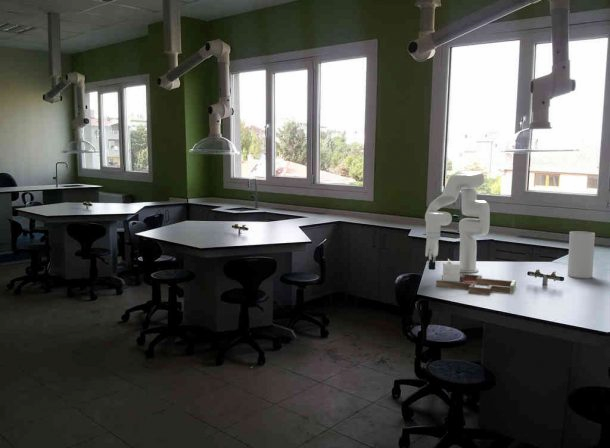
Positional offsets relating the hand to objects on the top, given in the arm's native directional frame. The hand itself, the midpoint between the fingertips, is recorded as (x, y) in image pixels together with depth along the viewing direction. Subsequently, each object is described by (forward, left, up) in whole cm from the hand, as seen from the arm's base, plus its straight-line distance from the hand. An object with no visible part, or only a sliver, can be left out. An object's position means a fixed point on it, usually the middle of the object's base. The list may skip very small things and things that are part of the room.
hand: (431, 269), depth 282 cm
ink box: (-1, +10, -8) cm, 13 cm away
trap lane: (-1, +22, -7) cm, 23 cm away
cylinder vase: (-52, +72, -8) cm, 89 cm away
